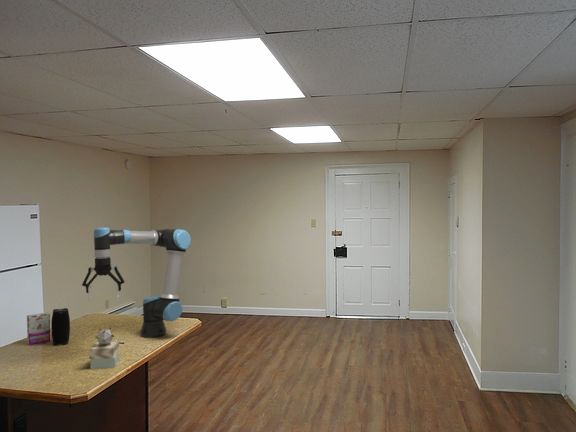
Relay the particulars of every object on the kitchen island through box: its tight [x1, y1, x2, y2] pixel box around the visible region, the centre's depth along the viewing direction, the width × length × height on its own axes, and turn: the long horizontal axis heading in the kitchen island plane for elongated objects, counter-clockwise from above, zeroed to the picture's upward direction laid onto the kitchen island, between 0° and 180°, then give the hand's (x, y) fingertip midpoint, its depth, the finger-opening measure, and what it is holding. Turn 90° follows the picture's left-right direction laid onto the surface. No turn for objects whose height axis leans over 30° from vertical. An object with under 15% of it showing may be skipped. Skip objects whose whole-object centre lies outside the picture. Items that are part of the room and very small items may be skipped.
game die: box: [94, 327, 115, 346], centre depth 220 cm, size 9×8×10 cm
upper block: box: [88, 340, 120, 360], centre depth 220 cm, size 11×11×5 cm
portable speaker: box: [50, 307, 71, 346], centre depth 255 cm, size 9×9×20 cm
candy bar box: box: [26, 312, 51, 346], centre depth 257 cm, size 11×5×16 cm, turn 129°
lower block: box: [90, 351, 120, 370], centre depth 221 cm, size 11×11×5 cm
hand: (104, 298), depth 232 cm, fingers open, 13 cm apart
